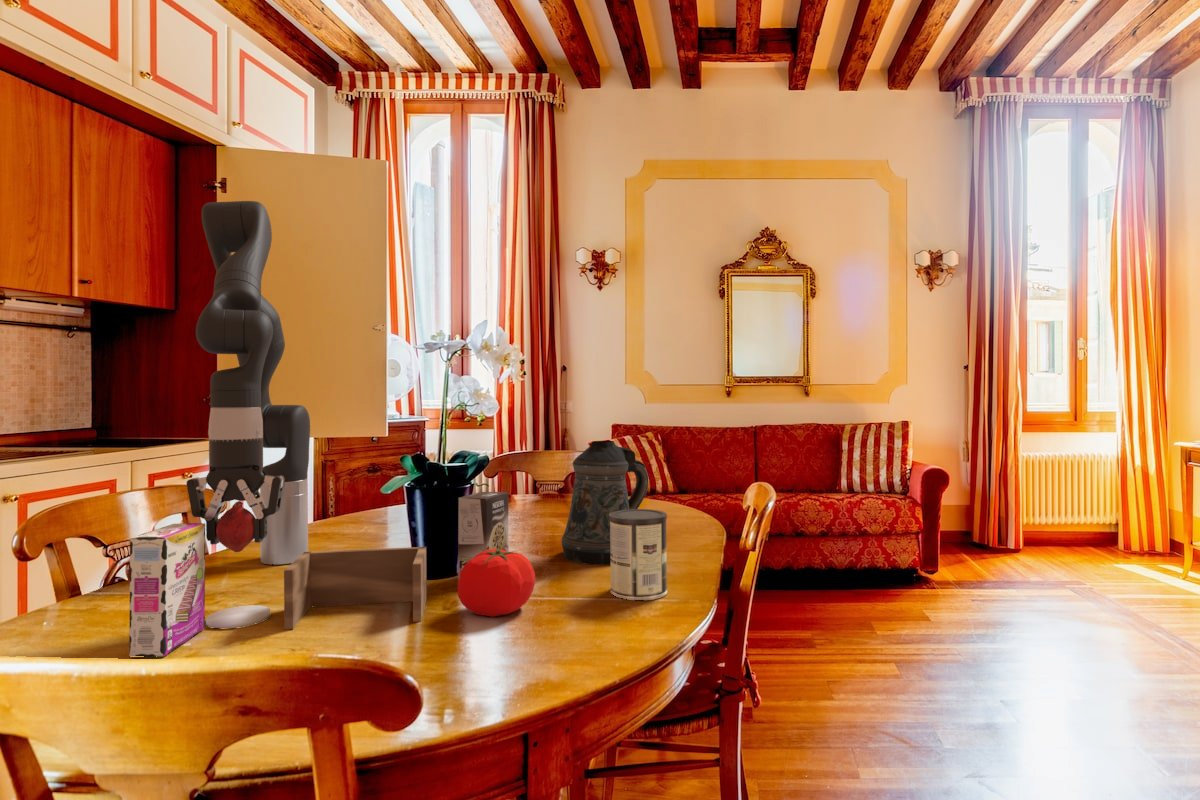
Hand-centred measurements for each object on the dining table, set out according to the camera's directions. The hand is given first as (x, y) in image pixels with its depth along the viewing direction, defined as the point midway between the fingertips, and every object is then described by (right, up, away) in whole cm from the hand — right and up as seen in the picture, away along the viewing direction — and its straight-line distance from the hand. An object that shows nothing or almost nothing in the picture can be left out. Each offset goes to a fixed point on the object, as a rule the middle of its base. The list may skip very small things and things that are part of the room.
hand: (237, 542), depth 106 cm
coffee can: (+64, -12, +14) cm, 67 cm away
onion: (0, -2, 0) cm, 2 cm away
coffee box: (+35, -12, +24) cm, 44 cm away
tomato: (+41, -12, +3) cm, 43 cm away
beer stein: (+58, -12, +42) cm, 73 cm away
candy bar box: (-4, -13, -10) cm, 17 cm away
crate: (+18, -12, +3) cm, 22 cm away
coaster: (0, -12, 0) cm, 12 cm away
